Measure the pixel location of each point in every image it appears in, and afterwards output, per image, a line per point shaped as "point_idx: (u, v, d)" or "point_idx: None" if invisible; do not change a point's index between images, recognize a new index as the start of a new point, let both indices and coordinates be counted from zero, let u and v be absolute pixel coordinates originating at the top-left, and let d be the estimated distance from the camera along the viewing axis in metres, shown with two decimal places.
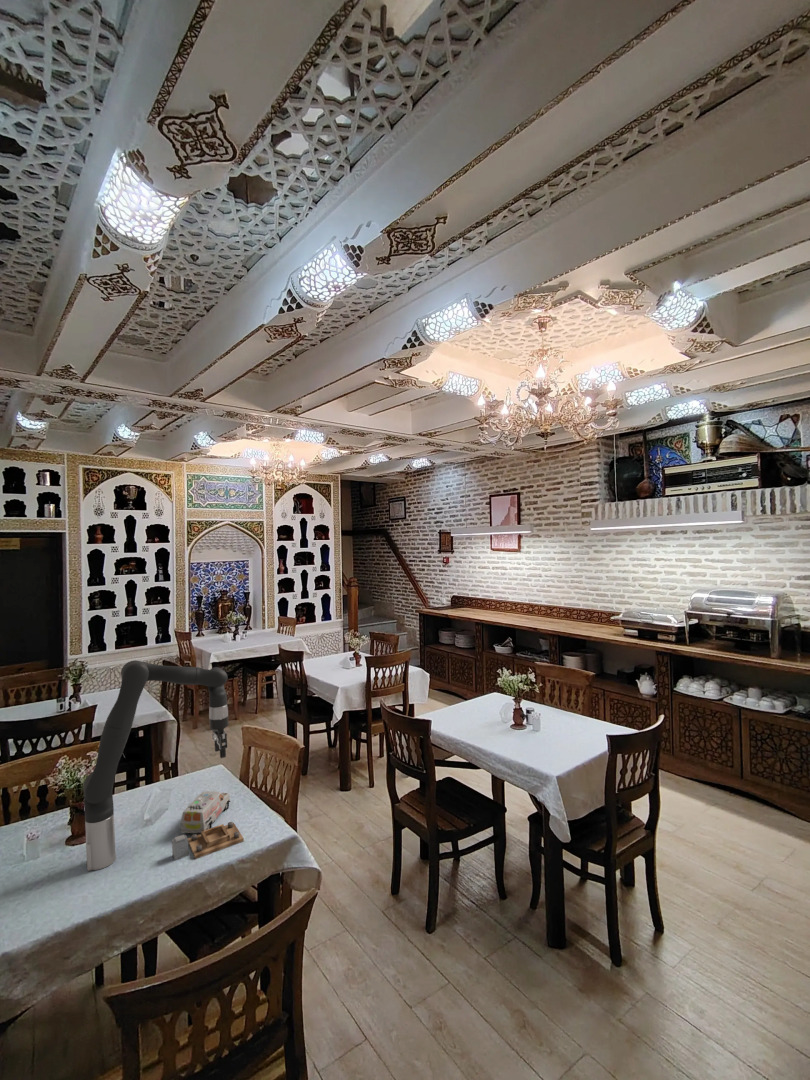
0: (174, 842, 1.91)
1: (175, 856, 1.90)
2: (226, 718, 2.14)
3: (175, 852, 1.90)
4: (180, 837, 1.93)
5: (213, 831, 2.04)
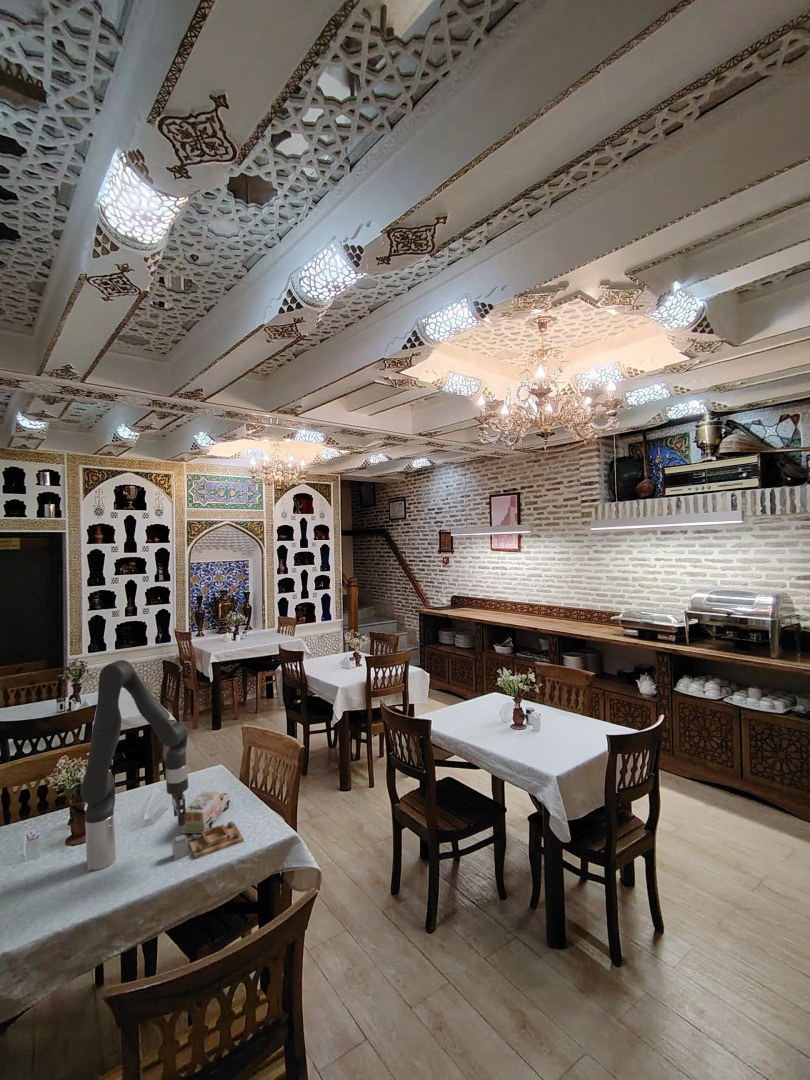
0: (174, 842, 1.91)
1: (175, 856, 1.90)
2: (185, 780, 1.92)
3: (175, 852, 1.90)
4: (180, 837, 1.93)
5: (213, 831, 2.04)
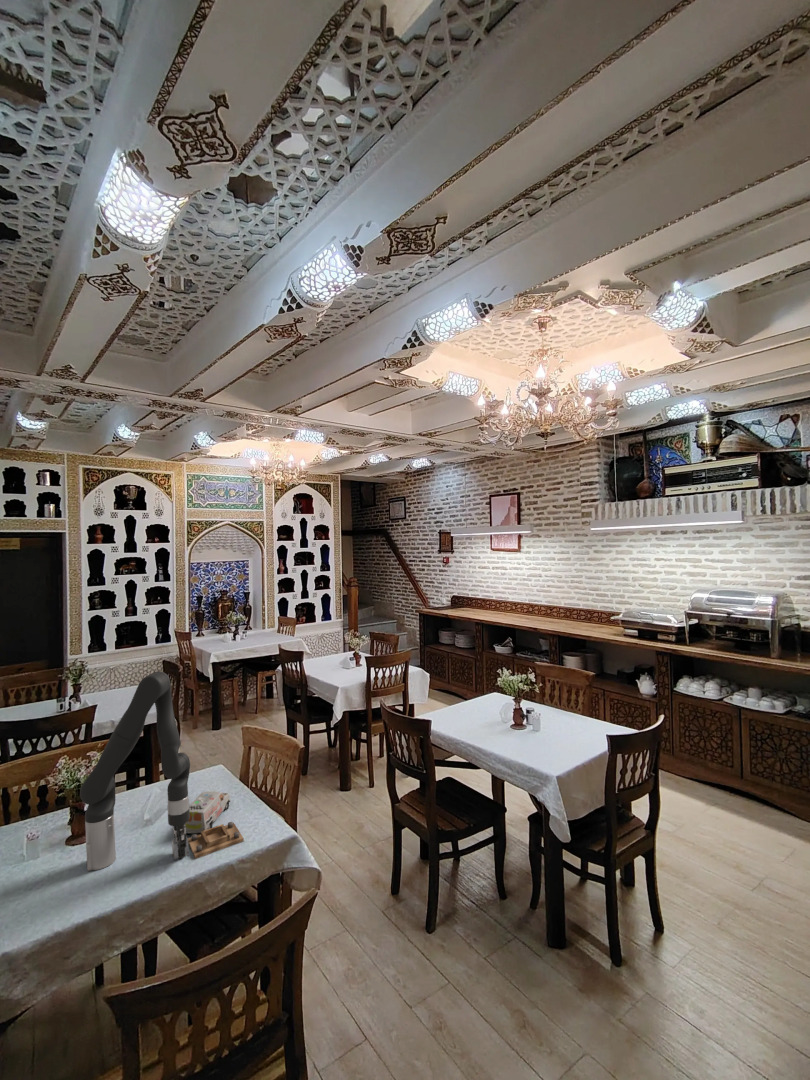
0: (174, 842, 1.91)
1: (175, 856, 1.90)
2: (187, 812, 1.92)
3: (175, 852, 1.90)
4: None
5: (213, 831, 2.04)
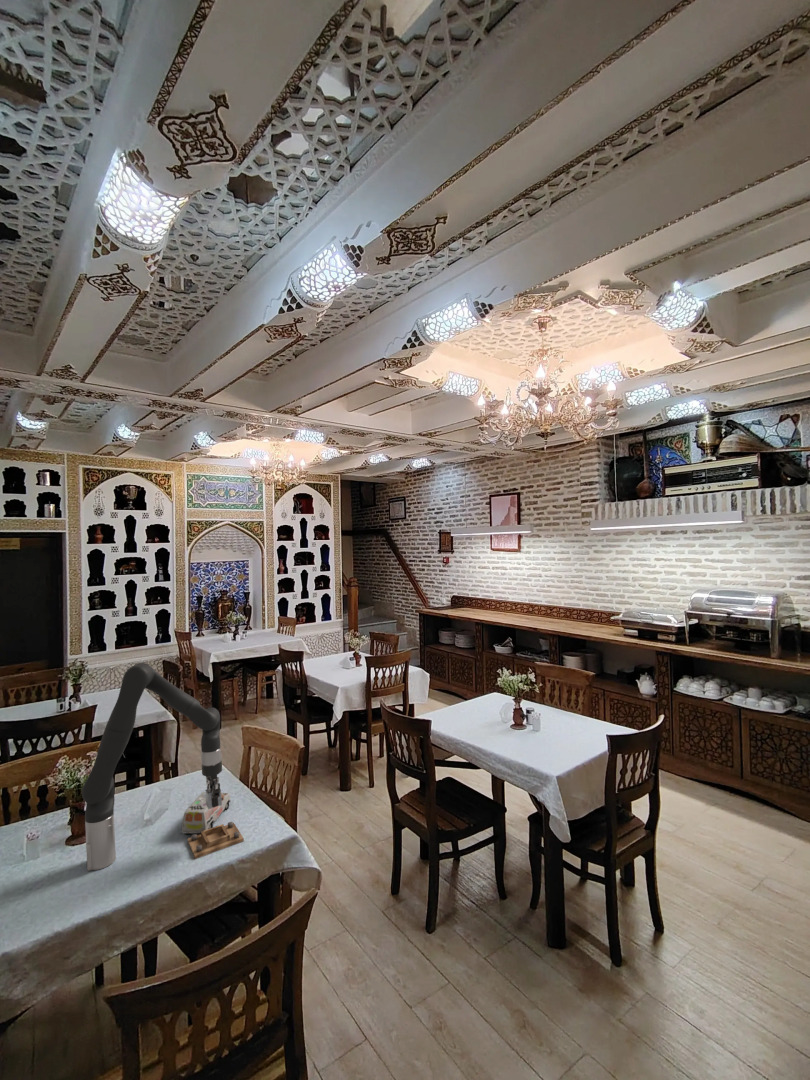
0: (208, 792, 1.99)
1: (209, 805, 1.98)
2: (219, 763, 2.00)
3: (209, 801, 1.98)
4: None
5: (213, 831, 2.04)
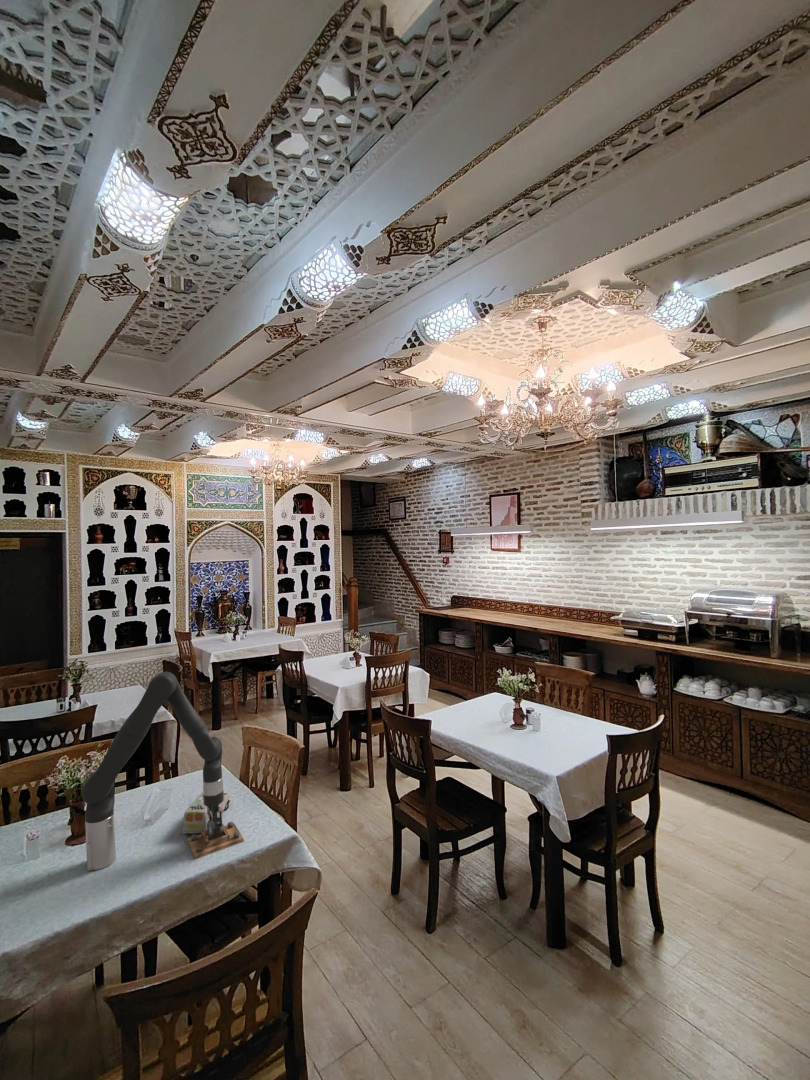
0: (209, 825, 1.99)
1: (210, 839, 1.98)
2: (221, 793, 2.00)
3: (210, 835, 1.98)
4: None
5: None
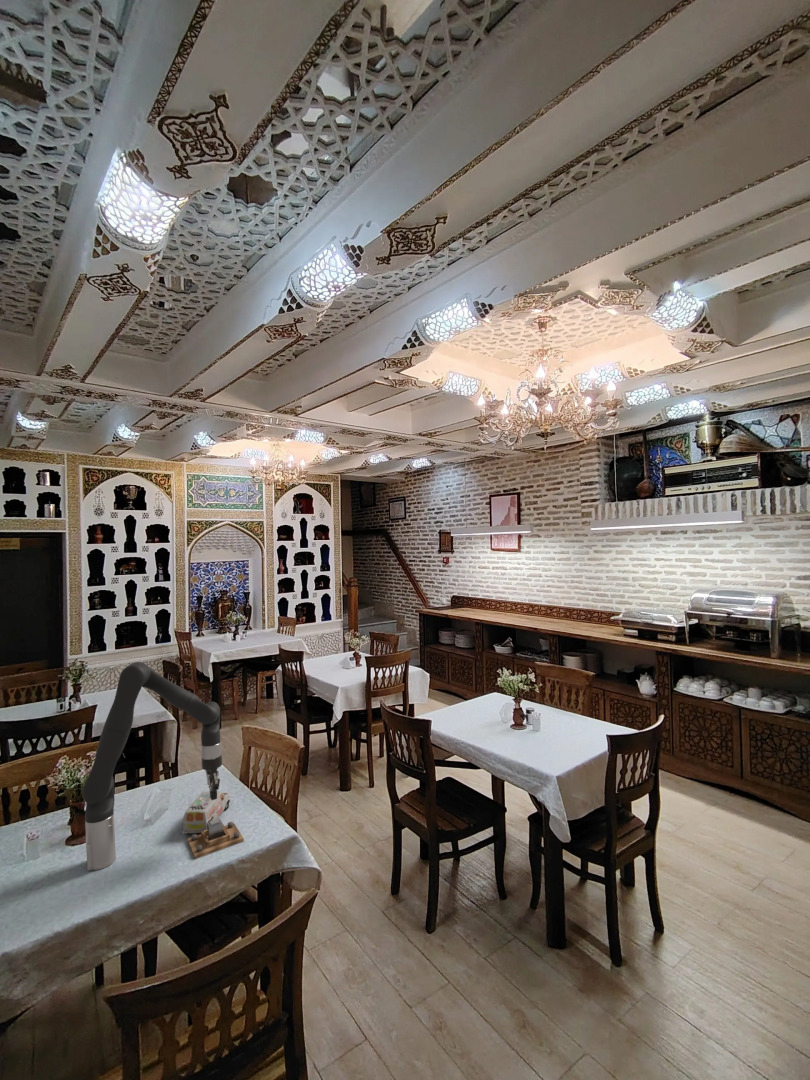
0: (209, 825, 1.99)
1: (210, 839, 1.98)
2: (219, 757, 2.00)
3: (210, 835, 1.98)
4: (215, 821, 2.01)
5: None
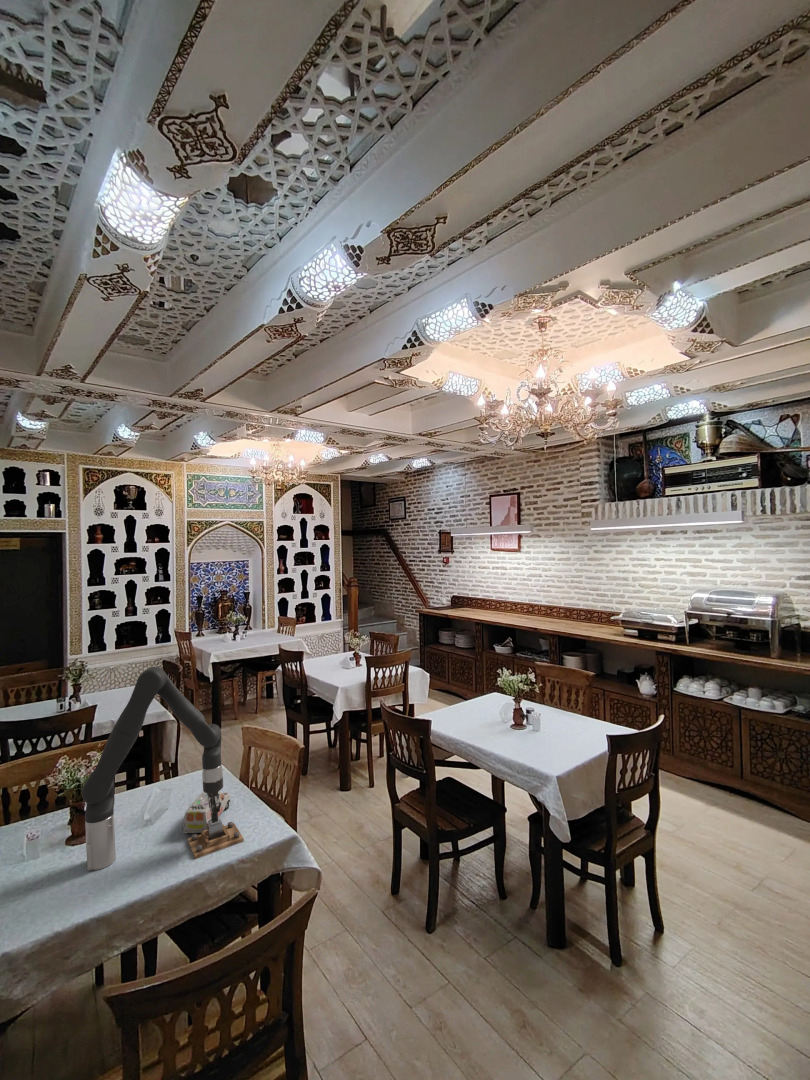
0: (209, 825, 1.99)
1: (210, 839, 1.98)
2: (220, 780, 2.00)
3: (210, 835, 1.98)
4: None
5: None
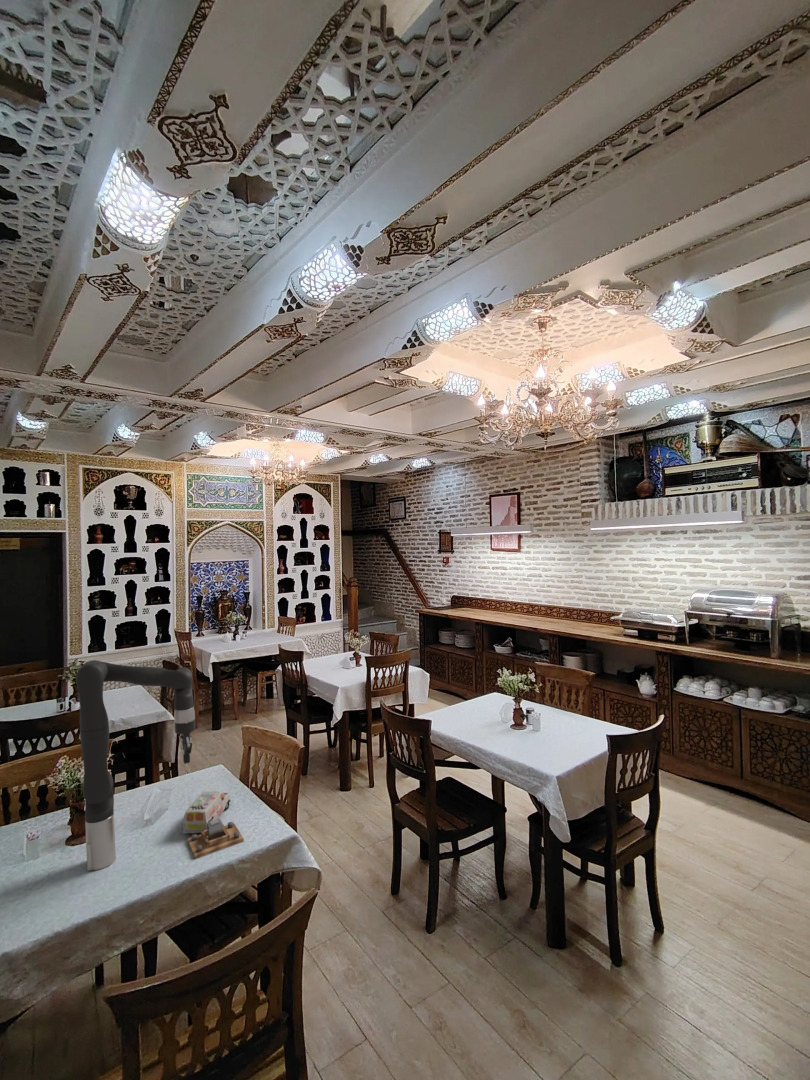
0: (209, 825, 1.99)
1: (210, 839, 1.98)
2: (192, 722, 2.01)
3: (210, 835, 1.98)
4: (215, 821, 2.01)
5: None
